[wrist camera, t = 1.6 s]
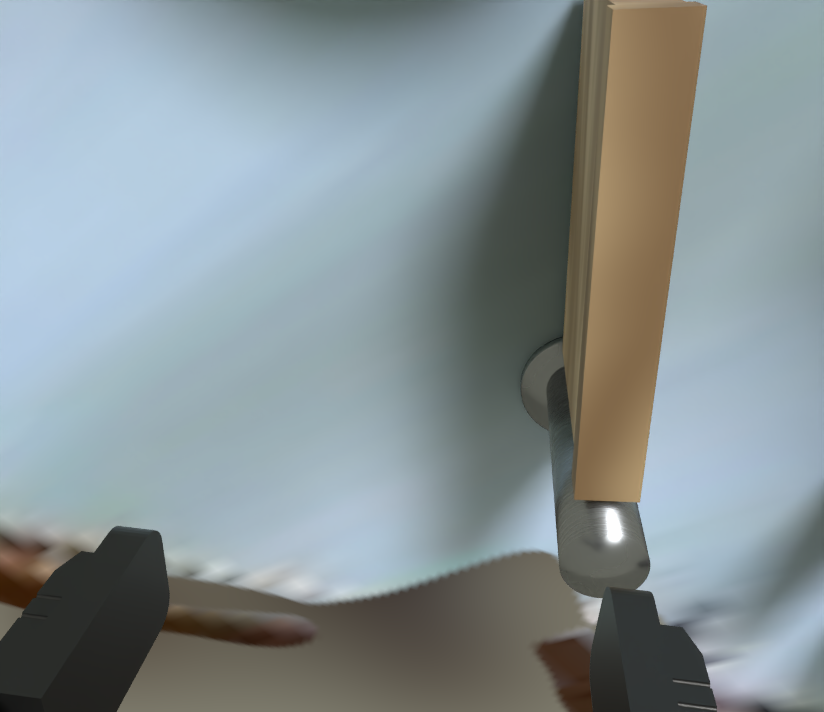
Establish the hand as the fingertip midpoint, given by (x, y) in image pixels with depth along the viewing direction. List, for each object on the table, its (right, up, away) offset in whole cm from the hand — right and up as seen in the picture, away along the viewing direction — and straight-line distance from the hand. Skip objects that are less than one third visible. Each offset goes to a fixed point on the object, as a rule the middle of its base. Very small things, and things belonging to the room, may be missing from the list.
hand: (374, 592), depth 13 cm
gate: (+8, +10, +15) cm, 20 cm away
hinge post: (+8, +3, +20) cm, 21 cm away
